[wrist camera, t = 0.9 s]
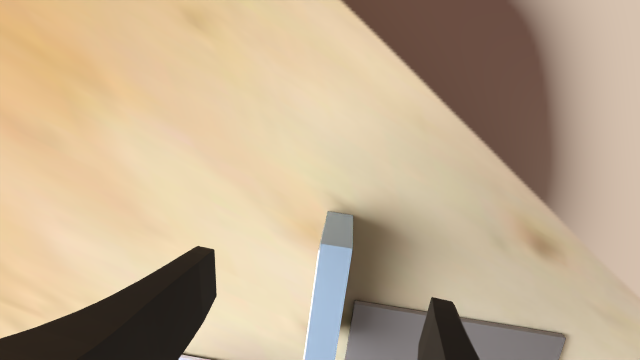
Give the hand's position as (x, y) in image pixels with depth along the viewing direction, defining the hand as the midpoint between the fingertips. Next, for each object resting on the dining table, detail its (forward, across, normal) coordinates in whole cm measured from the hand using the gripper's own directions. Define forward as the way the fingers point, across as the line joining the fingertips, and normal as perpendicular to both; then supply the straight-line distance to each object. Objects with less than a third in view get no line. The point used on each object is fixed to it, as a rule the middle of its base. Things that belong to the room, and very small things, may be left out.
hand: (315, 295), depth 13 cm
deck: (+13, +1, +10) cm, 16 cm away
